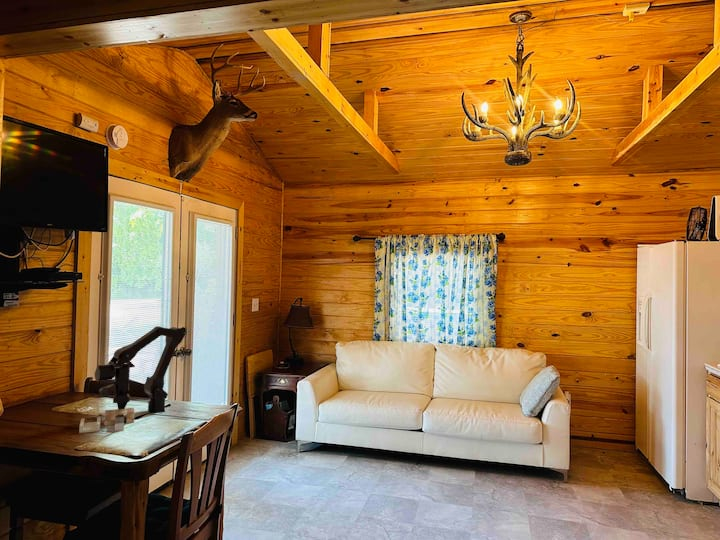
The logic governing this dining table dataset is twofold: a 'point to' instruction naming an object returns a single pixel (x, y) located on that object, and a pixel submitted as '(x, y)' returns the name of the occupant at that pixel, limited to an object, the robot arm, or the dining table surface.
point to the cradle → (89, 426)
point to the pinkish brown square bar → (119, 422)
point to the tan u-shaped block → (111, 414)
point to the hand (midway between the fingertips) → (120, 414)
